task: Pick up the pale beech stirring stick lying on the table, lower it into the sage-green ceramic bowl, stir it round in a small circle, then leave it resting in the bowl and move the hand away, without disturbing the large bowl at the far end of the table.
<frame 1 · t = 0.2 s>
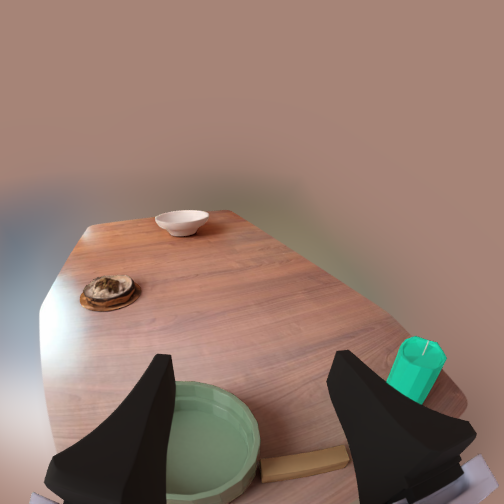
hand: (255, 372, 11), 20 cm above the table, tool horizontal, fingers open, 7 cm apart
bowl: (183, 234, 100), on the table
brown mottled round dish: (110, 295, 57), on the table
candle: (395, 411, 29), on the table
mixing bowl: (188, 455, 24), on the table
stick: (302, 469, 22), on the table
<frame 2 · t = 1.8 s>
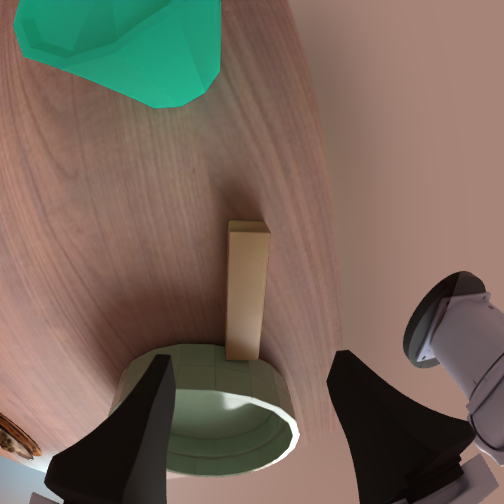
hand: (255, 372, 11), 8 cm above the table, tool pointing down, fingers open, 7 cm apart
brown mottled round dish: (8, 430, 26), on the table
candle: (170, 62, 13), on the table
mixing bowl: (203, 400, 22), on the table
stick: (242, 287, 18), on the table
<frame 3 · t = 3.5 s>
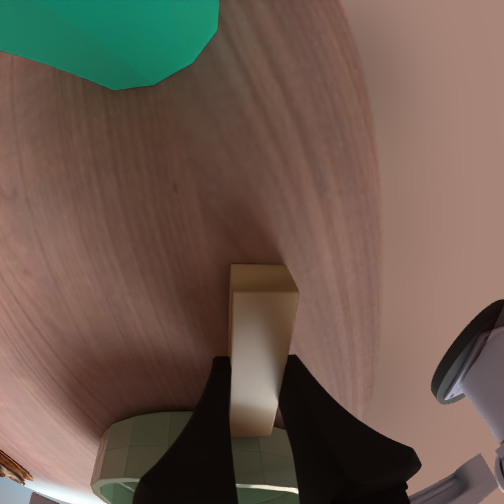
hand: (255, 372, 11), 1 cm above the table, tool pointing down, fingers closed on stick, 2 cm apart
candle: (142, 22, 7), on the table
mixing bowl: (202, 458, 17), on the table
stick: (251, 351, 13), on the table, touching gripper
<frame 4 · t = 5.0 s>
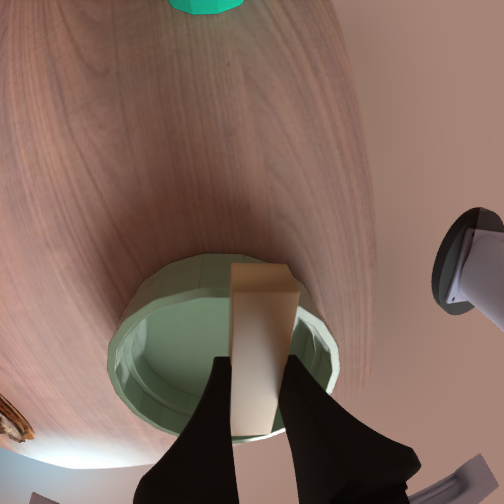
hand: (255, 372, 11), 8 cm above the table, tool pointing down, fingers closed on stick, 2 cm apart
mixing bowl: (222, 341, 21), on the table
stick: (251, 349, 13), point 7 cm above the table, touching gripper
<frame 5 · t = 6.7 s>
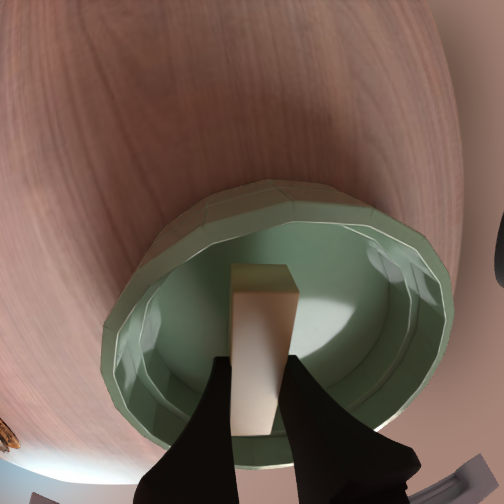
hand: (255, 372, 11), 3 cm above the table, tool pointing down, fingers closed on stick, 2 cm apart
mixing bowl: (275, 325, 15), on the table
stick: (251, 350, 13), point 2 cm above the table, touching gripper
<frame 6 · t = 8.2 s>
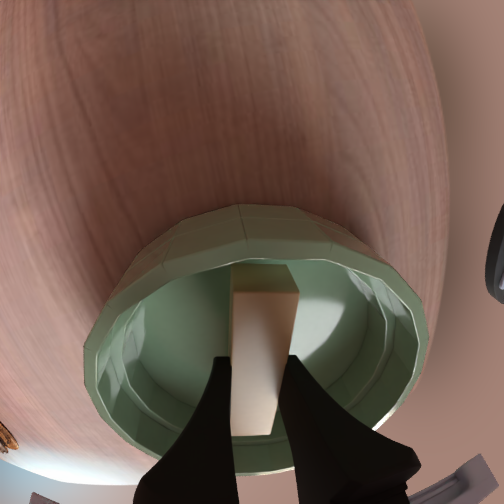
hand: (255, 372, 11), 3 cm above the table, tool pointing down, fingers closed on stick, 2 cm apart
mixing bowl: (253, 341, 15), on the table
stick: (251, 350, 13), point 2 cm above the table, touching gripper
when the fingers open (2 cm above the table, at t = 9.8 s): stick stays where it is, resting on mixing bowl.
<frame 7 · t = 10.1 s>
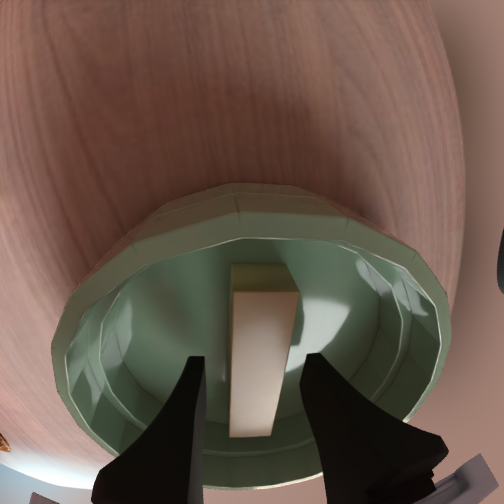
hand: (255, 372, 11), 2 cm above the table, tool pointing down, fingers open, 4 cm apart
mixing bowl: (250, 343, 13), on the table
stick: (251, 350, 13), point 1 cm above the table, touching mixing bowl
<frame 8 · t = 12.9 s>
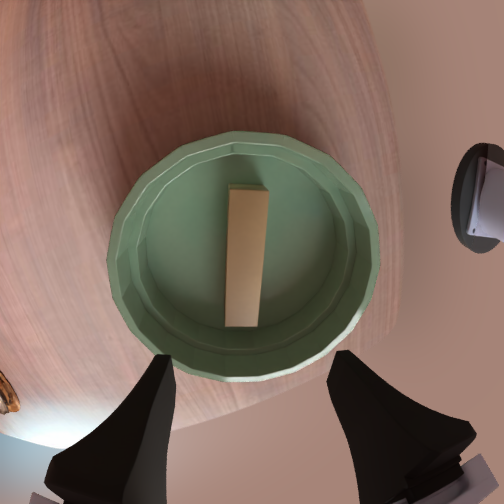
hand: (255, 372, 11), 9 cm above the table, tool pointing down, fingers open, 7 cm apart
mixing bowl: (242, 249, 19), on the table
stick: (242, 251, 19), point 1 cm above the table, touching mixing bowl
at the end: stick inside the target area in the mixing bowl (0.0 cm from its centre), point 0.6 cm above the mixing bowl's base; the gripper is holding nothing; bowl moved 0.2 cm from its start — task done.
